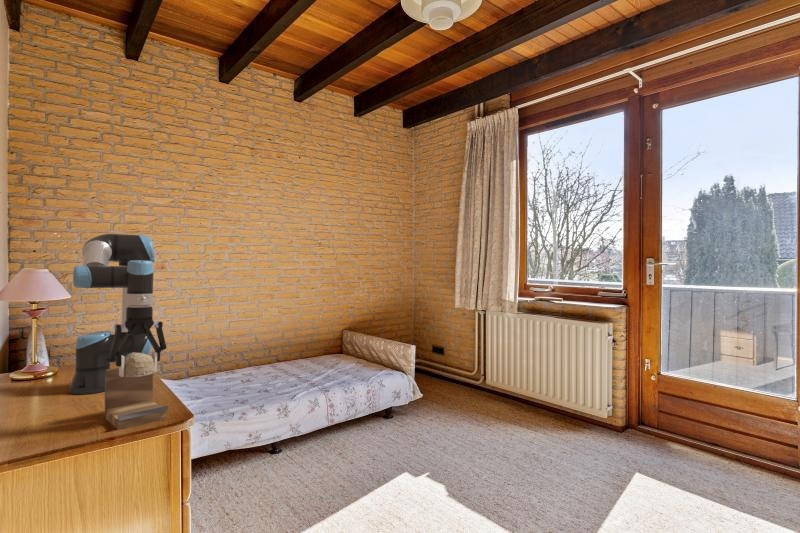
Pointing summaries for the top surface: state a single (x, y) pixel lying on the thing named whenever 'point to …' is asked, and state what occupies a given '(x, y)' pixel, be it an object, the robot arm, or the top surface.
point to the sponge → (138, 365)
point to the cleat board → (130, 400)
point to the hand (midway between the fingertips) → (138, 373)
